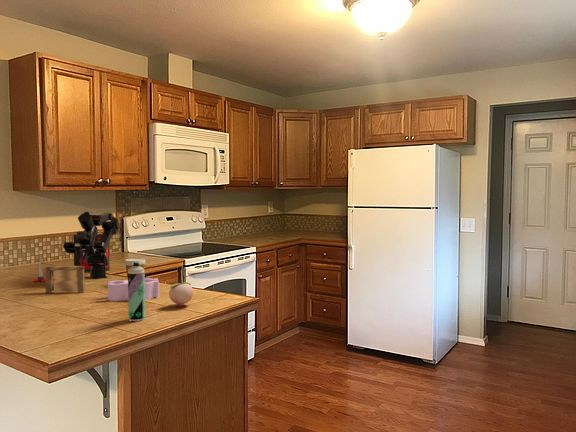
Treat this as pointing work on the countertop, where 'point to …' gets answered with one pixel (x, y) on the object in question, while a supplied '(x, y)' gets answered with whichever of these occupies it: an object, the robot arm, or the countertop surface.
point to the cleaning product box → (85, 264)
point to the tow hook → (40, 278)
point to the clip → (120, 289)
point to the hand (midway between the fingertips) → (80, 262)
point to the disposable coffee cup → (130, 263)
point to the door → (65, 280)
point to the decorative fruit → (181, 293)
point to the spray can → (136, 292)
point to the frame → (49, 269)
